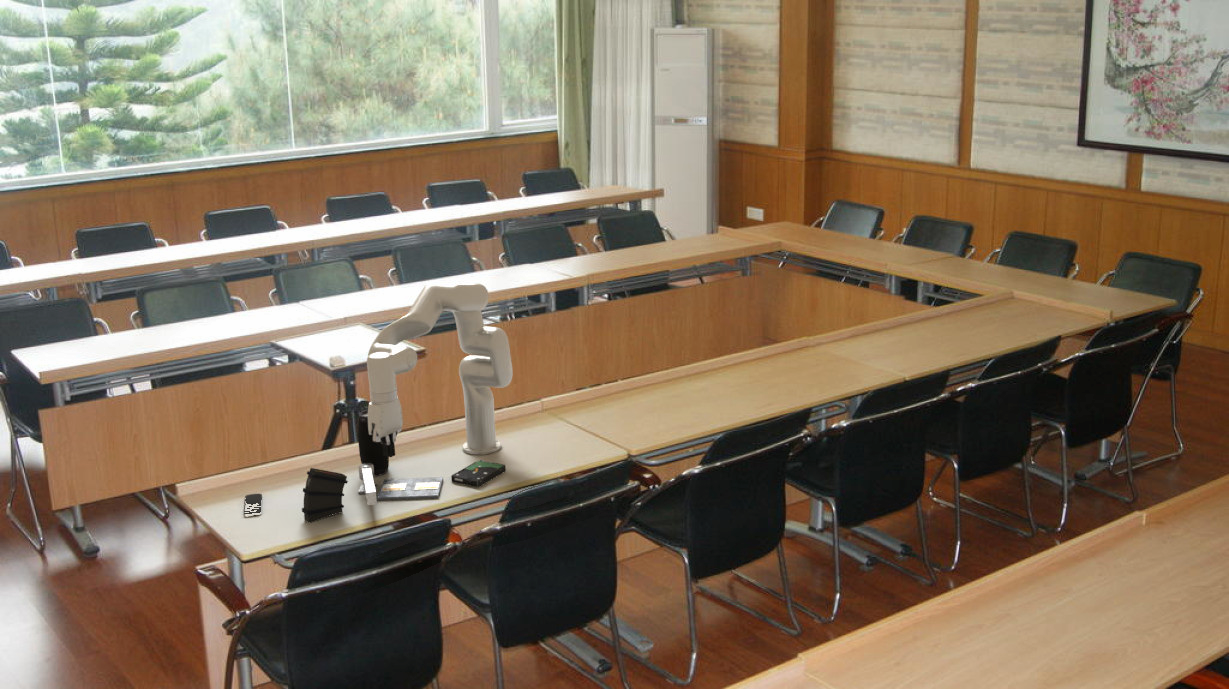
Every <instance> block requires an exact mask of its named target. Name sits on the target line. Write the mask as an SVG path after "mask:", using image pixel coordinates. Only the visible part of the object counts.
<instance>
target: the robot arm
mask: <svg viewBox="0 0 1229 689" xmlns="http://www.w3.org/2000/svg"><path fill="white" fill-rule="evenodd" d="M489 299H490V296H489V291H488V289H487V287H486V286H485V285H483V284H481V283H477V282H475V283H474V282H465V281H464V282H463V281H455V280H443V281H432V282H429V283H427V284H426V285H425V286H424V287H423V288H422V290H421V292H420V293H419V295H418V296H417V298H416V299H415V301H414V302H413V304H412V305H411V307H410V309H409V310H408V311H407V313H406V314H405V315H404V316H402V317H401V318H398V319H396V320H394V321H393V322H392V323H389V324H388V325H386V326H385V327H384V328H383V329H381V330H380V332H379V333H378V334H377V336H376V337H375V338H374V340H373V342H372V344H371V346H370V347H369V350H368V352H367V358H366V367H367V368H366V369H367V374H368V375H367V377H368V378H367V379H368V387H369V397H370V402H369V403H368V408H367V410H368V431H369V435H373V441H374V442H380V443H382V445H383V455H384V456H387V457H389V458H393V457H394V456H396V447H395V442H396V441H397V436H398V434H399V433H401V431H402V430H403V429H402V428H403V426H404V422H403V421H404V419H403V418H404V416H403V411H402V405H401V401H400V399H399V397H398V390H399V388H398V386H397V380H396V379H397V378H396V376H397V375H401V374H405V373H408V372H411V371H412V370H413V369H414V368H415V367H416V365H417V363H418V353H417V352H416V350H415V349H414V348H412V347H410V346H407V345H406V346H405V345H398V344H400V343H401V342H405V341H407V340H410V339H415V338H418V337H421V336H425V335H427V334H428V333H430V332H431V331H432V329H433V327H434V326H435V324H436V323H437V321H438V320H439V318H440V316H441V315H442V313H443V312H445V311H446V312H451V313H452V314H453V316H454V320H455V325H456V326H455V327H456V332H457V338H458V343H459V347H460V349H461V351H462V352H463V353H465V354H468V356H465V357H463V358H462V359H461V361H460V362H459V366H458V374H459V378H460V382H461V387H462V392H463V402H464V416H465V418H464V419H465V431H466V432H465V433H466V434H465V436H466V442H464V443H463V444H462V447H461V448H462V451H463V452H464V453H466V454H470V455H474V456H475V455H478V456H479V455H486V454H487V455H489V454H492V453H496V452H497V451H499V450H500V449H501V448H502V444H501V443H502V442H500V441H499V440H497V438H496V437H497V434H496V419H495V418H496V417H495V403H494V402H495V400H494V395H493V391H492V388H500V389H501V388H502V389H503V388H505V387H508V386H509V385H510V384H511V382H512V379H513V363H512V355H511V349H510V348H511V347H510V340H509V337H508V334H507V333H506V332H505V330H504V329H502V328H500V327H497V326H489V325H488V326H487V325H485V323H484V319H483V315H482V310H484V309H485V308H486V307H487V305H488V303H489ZM384 437H385V438H384Z"/></svg>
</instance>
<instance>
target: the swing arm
mask: <svg viewBox="0 0 1229 689" xmlns="http://www.w3.org/2000/svg"><path fill="white" fill-rule="evenodd" d="M358 475H359V480H361V481H363V482H362V483H364V484H363V485H364V488H365V494H364V495H365V498H366V504H367V506H371V505H377V490H376V491H375V486H374V485H375V482H374V478H375V476H374V466H373V464H371V463H364V464H359V465H358Z"/></svg>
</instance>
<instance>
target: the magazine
mask: <svg viewBox="0 0 1229 689" xmlns="http://www.w3.org/2000/svg"><path fill="white" fill-rule="evenodd" d="M306 475H307V478H306V481H305V487H303V489H302V493H304V494H303V495H304V496H303V507H302V508H301V512H302V513H303V518H304V520H305V521H306V522H307V521H308V523H309V522H310V523H313V522H316V521H319V520H322V519H325V518H324V517H326V518H328V517H327V516H329V515H332V514H335V513H338V514H340V513H339V512H342V513H343V509H344V508H345V505H344V504H343V503H342V502H343V497H344V496H345V493H343V491H344V487H345V484H348V482H349V481H348V480H347V477H348V476H347V475H345V473H340V472H333V471H330V470H325V469H319V468H315V467H310V469H309V470H307V472H306ZM335 515H336V514H335ZM332 516H333V515H332ZM329 517H330V516H329ZM321 518H322V519H321ZM318 519H319V520H318ZM315 520H316V521H315ZM312 521H313V522H312Z"/></svg>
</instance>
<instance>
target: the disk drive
mask: <svg viewBox="0 0 1229 689" xmlns="http://www.w3.org/2000/svg"><path fill="white" fill-rule="evenodd" d="M506 469H507V468H506V464H502V463H498V462H494V461H492V462H491V461H485V460H482V459H480V460H477V461H474V462H473V463H471V464H470V465H468V466H466V467H464V468H462V469H460V470H458V471H457V472H455V473H453V474H451V477H450V478H451V482H452V483H455V484H459V485H463V486H468V487H473V488H478V489H479V488H480V487H482V486H484V485H485V484H487V483H489V482H490V481H492V480H494V479H495V478H497V477H499V476H501V475H502V474H504V473H506V472H505V471H506ZM503 472H504V473H503ZM500 474H501V475H500ZM498 475H499V476H498ZM496 476H497V477H496ZM493 478H494V479H493ZM491 479H492V480H491ZM488 481H489V482H488ZM486 482H487V483H486ZM483 484H484V485H483Z"/></svg>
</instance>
